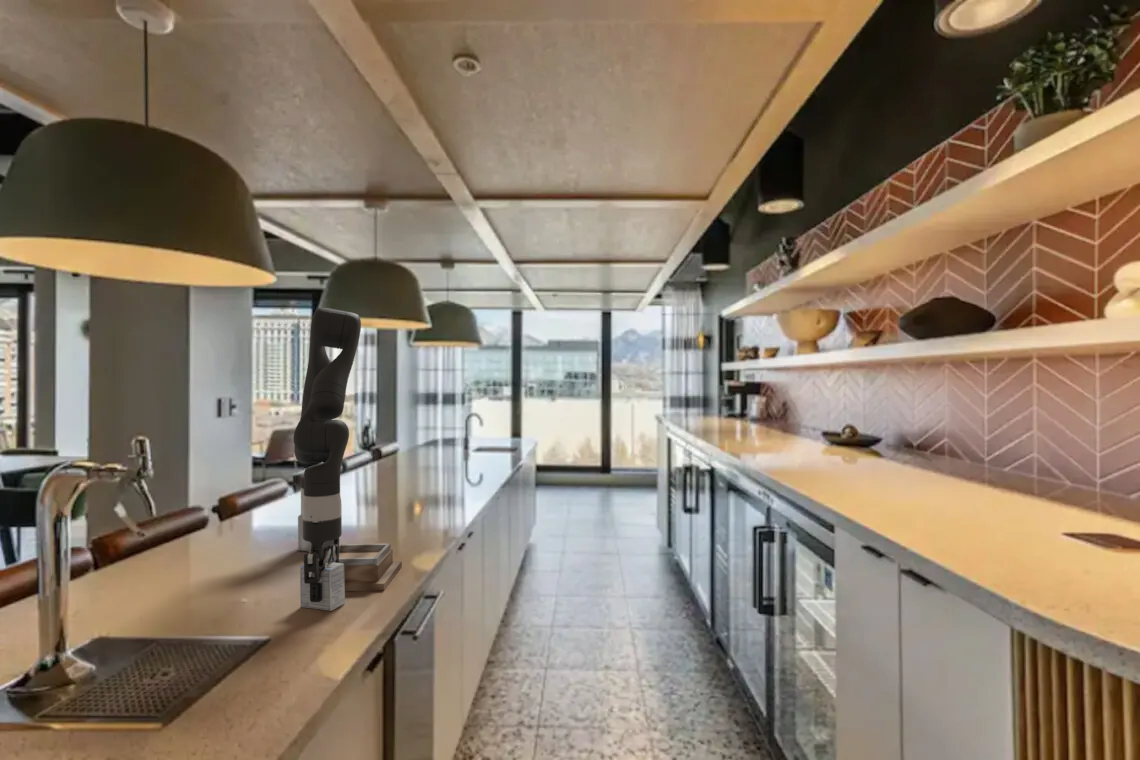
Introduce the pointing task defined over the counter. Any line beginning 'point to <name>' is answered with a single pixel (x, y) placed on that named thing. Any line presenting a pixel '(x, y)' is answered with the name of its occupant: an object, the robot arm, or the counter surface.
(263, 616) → the counter surface
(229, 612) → the counter surface
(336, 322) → the robot arm
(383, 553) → the display stand
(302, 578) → the medicine box
